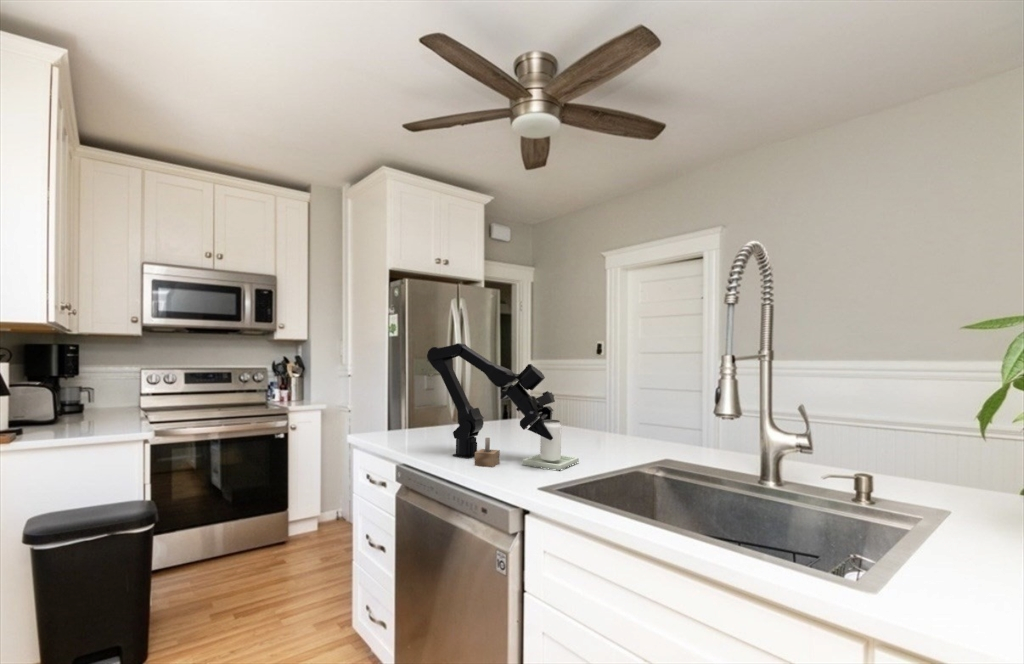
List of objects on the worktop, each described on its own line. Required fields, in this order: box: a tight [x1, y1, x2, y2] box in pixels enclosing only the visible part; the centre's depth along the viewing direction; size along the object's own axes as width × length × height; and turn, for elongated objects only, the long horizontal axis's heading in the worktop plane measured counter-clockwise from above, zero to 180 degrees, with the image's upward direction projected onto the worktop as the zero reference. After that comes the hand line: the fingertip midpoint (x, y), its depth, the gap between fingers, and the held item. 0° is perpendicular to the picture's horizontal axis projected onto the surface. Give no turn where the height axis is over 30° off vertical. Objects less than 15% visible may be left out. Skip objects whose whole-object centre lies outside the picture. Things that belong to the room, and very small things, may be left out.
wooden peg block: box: [474, 437, 501, 468], centre depth 152 cm, size 6×6×8 cm
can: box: [539, 419, 562, 461], centre depth 153 cm, size 6×6×12 cm
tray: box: [522, 453, 580, 471], centre depth 153 cm, size 13×13×2 cm
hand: (554, 437), depth 153 cm, fingers closed on can, 6 cm apart
